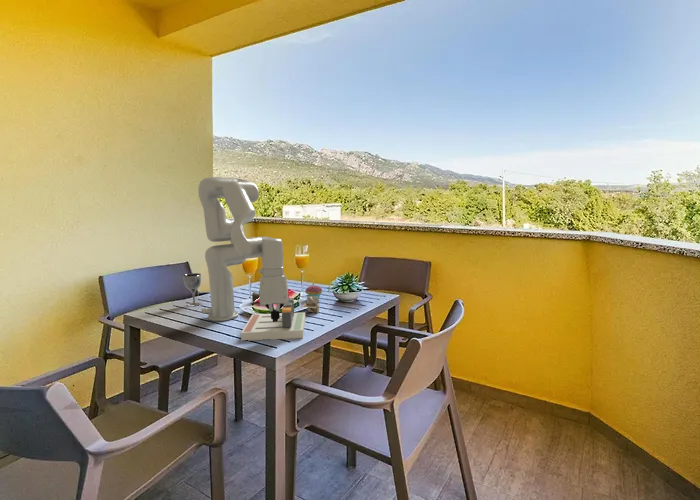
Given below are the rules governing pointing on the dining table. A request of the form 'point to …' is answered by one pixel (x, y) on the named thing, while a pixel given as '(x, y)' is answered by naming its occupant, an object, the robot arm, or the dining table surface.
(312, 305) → the architectural model
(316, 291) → the cupcake
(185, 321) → the dining table surface
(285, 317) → the grey upright block
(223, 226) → the robot arm
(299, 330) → the switch panel
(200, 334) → the dining table surface
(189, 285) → the wine glass
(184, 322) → the dining table surface
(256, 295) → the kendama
